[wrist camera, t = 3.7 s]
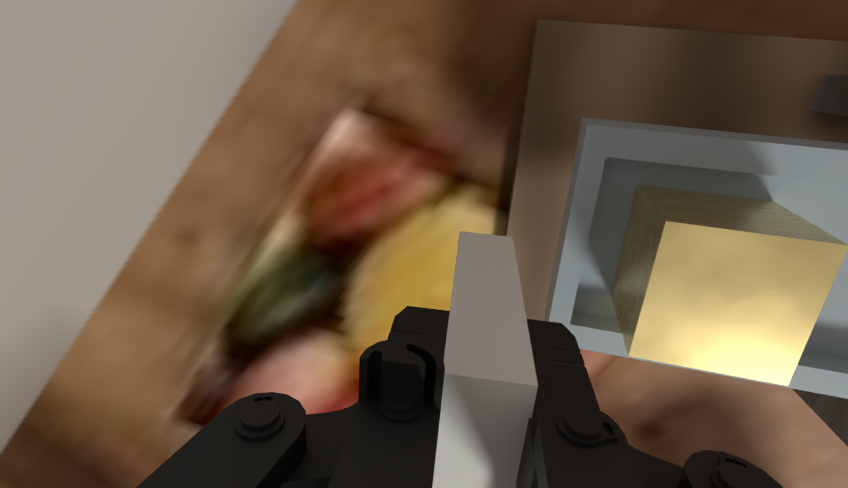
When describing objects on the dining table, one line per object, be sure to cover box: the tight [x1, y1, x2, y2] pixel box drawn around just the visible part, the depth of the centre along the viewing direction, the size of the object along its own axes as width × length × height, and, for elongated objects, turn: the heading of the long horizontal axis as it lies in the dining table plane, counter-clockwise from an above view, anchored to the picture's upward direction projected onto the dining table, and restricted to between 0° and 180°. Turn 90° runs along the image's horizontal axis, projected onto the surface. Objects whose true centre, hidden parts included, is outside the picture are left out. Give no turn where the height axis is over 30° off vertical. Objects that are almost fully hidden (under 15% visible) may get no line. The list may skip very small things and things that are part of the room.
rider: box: [610, 184, 848, 386], centre depth 16 cm, size 4×4×4 cm
